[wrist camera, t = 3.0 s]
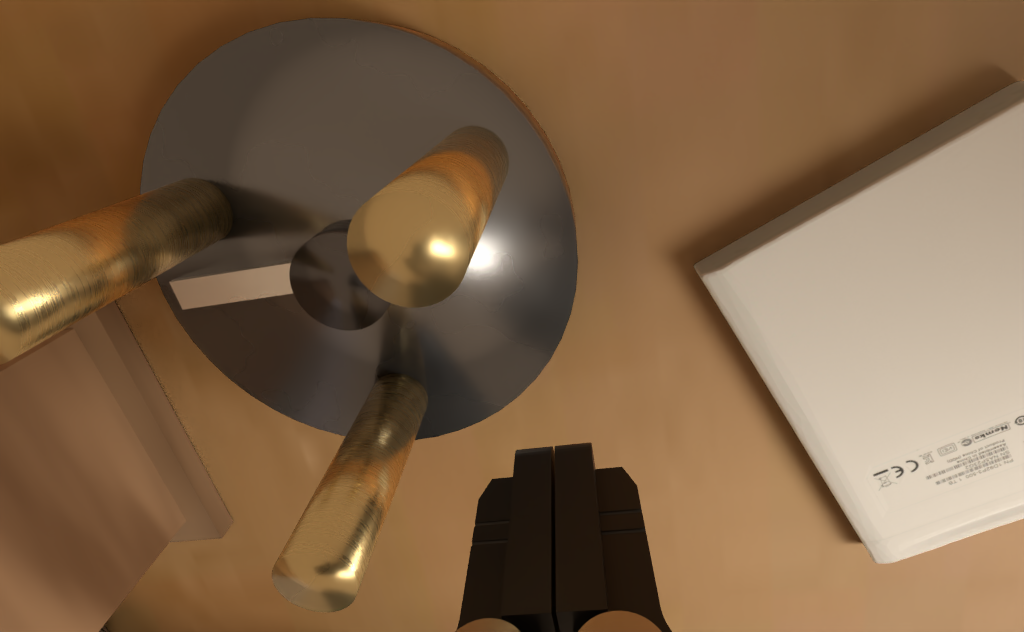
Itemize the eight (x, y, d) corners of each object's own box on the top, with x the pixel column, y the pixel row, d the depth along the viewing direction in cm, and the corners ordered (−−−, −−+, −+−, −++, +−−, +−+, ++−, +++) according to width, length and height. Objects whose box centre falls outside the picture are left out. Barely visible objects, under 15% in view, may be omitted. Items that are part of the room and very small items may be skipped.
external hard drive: (1003, 77, 13) (1125, 436, 17) (688, 258, 16) (855, 533, 20) (1058, 81, 12) (1177, 473, 16) (700, 280, 14) (879, 573, 18)
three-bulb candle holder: (540, -28, 12) (512, -116, 5) (599, 389, 17) (623, 623, 10) (106, 70, 14) (-330, 98, 7) (268, 424, 19) (97, 645, 12)
